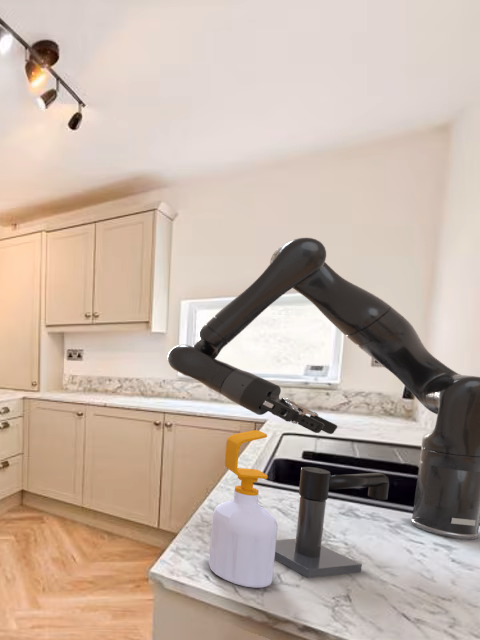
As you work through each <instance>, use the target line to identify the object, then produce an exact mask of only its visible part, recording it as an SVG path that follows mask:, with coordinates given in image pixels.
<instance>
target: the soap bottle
mask: <svg viewBox="0 0 480 640" xmlns="http://www.w3.org/2000/svg"><path fill="white" fill-rule="evenodd" d="M267 437H268V435H267V433H265V432H262V431H260V430H259V429H252V430H248V431H243V432H239V433H234V434H232V435H230V436H228V438H226V439H227V440H226V445H225V455H224V456H225V458H224V466H225V467H226V469H228V470H229V471H230V472H232V473H233V474H235V475H236V476H237V479H238V480H240V485H235V486H234V492H233V498H232V499H231V500H227V501H223V502H221V503H219V504H218V505H217V506H215V508H214V510H213V512H212V518H211V527H210V528H211V530H210V541H209V555H208V565H209V568H210V570H211V571H212V572H213V574H215V575H216V576H218V577H220V578H221V579H222V580H224V581H227V582H229V583H231V584H234V585H238V586H242V587H245V588H254V589H258V588H267V587H268V586H270V585H271V584H272V583H273V580H274V579H273V578H274V568H275V559H274V558H275V548H276V540H277V535H278V527H279V526H278V523H277V520H276V518H275V516H274V515H272V513H270V512H269V511H268V510H267V509H266V508H264V507H262V506H261V505H260V504H259V490H258V489H257V488H255V487H254V483H257V482H258V480H259V479H262V480H263V479H264V480H267V479H268V477H269V475H268V474H266V473H264V472H263V471H261V470H259V469H255V468H246V467H245V468H244V467H243V468H242V467H238V465H239V452H240V448H241V446H242V445H243V444H245V443H248V442H254V441H257V440H262V439H265V438H267Z"/></svg>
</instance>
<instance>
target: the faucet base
mask: <svg viewBox="0 0 480 640" xmlns="http://www.w3.org/2000/svg"><path fill="white" fill-rule="evenodd" d="M326 505H327V500H314V499H309V498H306V497H303V496H301V495H300V494H299V501H298V513H297V522H296V523H297V524H296V532H295V538H287V539H276V548H275V558H274V561H275V560H276V561H277V562H279V563H281V564H282V565H284V566H286V567H288V568H289V569H291V570H293V571H295V572H296V573H299V574H300V575H302V576H304V577H305V578H307V579H311V578H312V579H313V578H322V577H330V576H331V577H332V576H340V575H351V574H358V573H362V563H360V562H358V561H355V560H353V559H351V558H349V557H347V556H345V555H343V554H341V553H339V552H337V551H335V550H332V549H331V548H328V547H326V546H324V545H322V543H323V541H322V540H323V533H324V532H323V531H324V522H325V514H326Z"/></svg>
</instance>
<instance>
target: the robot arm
mask: <svg viewBox="0 0 480 640" xmlns="http://www.w3.org/2000/svg"><path fill="white" fill-rule="evenodd" d="M326 259H327V250H326V247H325V245H324V244H323V242H321V241H320V240H318V239H316V238H312V237H299V238H294V239H292V240H289V241H287V242H286V243H284V244H282V245H281V246H280V247H278V248H277V249H276V250H275V251H274V252H273V253H272V255H271V257H270V261H269V265H268V266H267V267H266V268H265V270H264V271H263V272H262V273H261V274H260V275H259V277H257V279H255V281H254V282H253V283H251V285H249V286H248V287H247V288H246V289H244V291H243V292H241V293H240V294H239V295H237V296H236V297H235V298H234V299H232V300H231V301H230V302H228V303H227V304H226V305H225V306H224V307H222V308H221V309H220V310H219V311H218V312H217V313H216V314H215V315H214V316H213V317H212V318H210V319H209V321H208V322H206V323H205V324H204V325H203V326H202V327H201V329H200V330H199V331H198V339H197V341H196V342H195V343H194V345H193V346H192V345H189V344H179V345H176V346H174V347H173V348H172V349H170V351H169V352H168V355H167V361H168V364H169V366H170V367H171V368H172V369H173V370H175V371H176V372H177V373H179V374H181V375H182V376H185V377H189V378H191V379H193V380H195V381H197V382H200V383H201V384H203V385H204V386H206V387H207V388H208V389H210V390H212V391H214V392H217V393H218V394H220V395H222V396H223V397H225V398H227V399H228V400H229V401H231V402H232V403H235V404H237V405H239V406H241V407H242V408H244V409H246V410H248V411H250V412H252V413H254V414H256V415H258V416H263V415H265V414H267V413H270V414H272V415H273V416H276V417H277V418H279V419H282V420H284V421H285V422H288V423H290V422H291V423H292V424H296V425H299V426H300V427H303V428H305V429H307V430H308V431H311V432H312V433H315V434H319V433H321V432H324V433H326V434H328V435H332V434H334V433H335V432H336V430H337V429H338V425H337V424H336V423H333V422H331V421H329V420H327V419H325V418H323V417H321V416H319V414H318V413H317V412H315V411H311V410H310V409H308V408H307V407H306V406H304V405H301V404H298V403H296V402H295V401H294V400H293V399H289V398H284V397H281V398H280V395H281V393H282V390H281V387H280V386H279V385H278V384H276V383H273V382H272V381H269V380H267V379H265V378H262V377H260V376H258V375H256V374H254V373H251V372H249V371H246V370H242V369H241V368H238V367H235V366H233V365H231V364H229V363H227V362H224V361H221V360H219V359H217V357H218V356H219V354H220V352H221V351H222V350H223V349H224V348H225V347H226V346H227V345H228V344H230V343H231V342H232V341H233V340H234V339H235V338H236V337H238V335H240V334H241V333H242V332H243V331H244V330H245V329H246V328H248V326H249V325H250V324H252V323H253V322H254V321H255V320H256V319H257V318H258V317H259V316H260V315H262V313H263V312H264V311H265V310H266V309H267V308H268V307H270V306H271V305H272V304H274V303H275V302H276V301H278V299H280V298H281V297H282V296H284V295H285V294H286V293H288V292H289V291H291V290H292V289H293V290H294V291H296V292H298V293H299V294H300V295H302V296H303V297H305V299H307V300H308V301H310V302H311V303H312V304H313V305H314V307H316V308H317V309H318V311H319V312H320V313H322V315H323V316H324V317H325V318H326V319H327V320H329V322H330V323H331V324H332V325H334V327H335V328H336V329H338V331H340V332H341V333H342V334H343V335H344V336H345V337H347V338H348V339H349V340H350V341H351V342H352V343H353V344H355V345H356V346H357V347H358V348H359V349H361V350H362V351H363V352H365V353H366V354H367V355H368V356H369V357H371V358H372V359H373V360H375V361H376V362H377V363H378V364H379V365H381V366H382V367H384V369H386V370H387V371H389V372H390V373H391V374H392V375H394V376H395V377H396V378H397V379H398V380H399V381H400V382H401V383H402V384H403V385H404V386H405V387H406V389H408V391H409V392H410V393H411V394H412V395H413V396H414V397H415V398H416V399H417V400H418V402H419V403H420V404H421V405H422V406H423V407H424V408H425V409H427V410H428V411H429V412H431V413H433V414H435V415H436V421H435V424H434V425H435V426H434V428H433V430H432V431H430V432H428V433H425V434H424V435H423V436H422V439H421V446H420V455H419V462H418V470H417V479H416V486H415V487H416V488H415V493H414V501H413V508H412V516H411V519H410V523H411V524H412V525H413V526H415V527H416V528H418V529H420V530H423V531H425V532H429V533H431V534H434V535H435V534H436V535H437V536H443V537H447V538H452V539H459V540H475V539H477V538H478V535H479V531H480V376H476V375H466V374H461V373H458V372H456V371H455V370H453V369H452V368H450V367H448V366H447V365H445V363H443V362H441V360H439V359H437V358H436V357H435V356H434V355H433V354H432V353H430V352H429V351H428V349H427V348H426V347H425V345H424V343H423V342H422V340H421V338H420V336H419V334H418V333H417V330H416V329H415V328H414V327H413V325H412V323H411V322H410V321H409V320H408V319H407V318H405V316H404V315H402V314H401V313H400V312H398V311H397V310H396V309H395V308H394V307H392V305H391V304H389V303H388V302H386V301H385V300H383V299H382V298H380V297H379V296H377V295H375V294H373V293H371V292H369V291H368V290H365V289H363V288H362V287H360V286H358V285H357V284H354V283H352V282H350V281H349V280H347V279H345V278H344V277H342V276H341V275H340V274H338V273H337V272H336V271H335V270H334V269H333V268H332V267H331V266H330V265H329V264H328V263H327V262H326Z"/></svg>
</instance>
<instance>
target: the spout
mask: <svg viewBox="0 0 480 640" xmlns="http://www.w3.org/2000/svg"><path fill="white" fill-rule="evenodd" d="M299 477H300V478H299V479H300V480H299V488H298V495H299V496H300V495H301V496H303V497H306V498H309V499H314V500H326V501H327V500H328V499H329V492H330V491H329V490H342V489H360V488H367V489H368V490H367V496H368V497H370V498H372V499H377V500H388V497H389V488H390V481H389V480H390V479H389V477H388V476H387V475H386V474H384V473H381V472H372V473H370V472H369V473H353V474H334V475H333V474H331V472H330V471H329V470H327V469H324V468H319V467H313V466H303V467H301V468H300V476H299Z"/></svg>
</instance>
